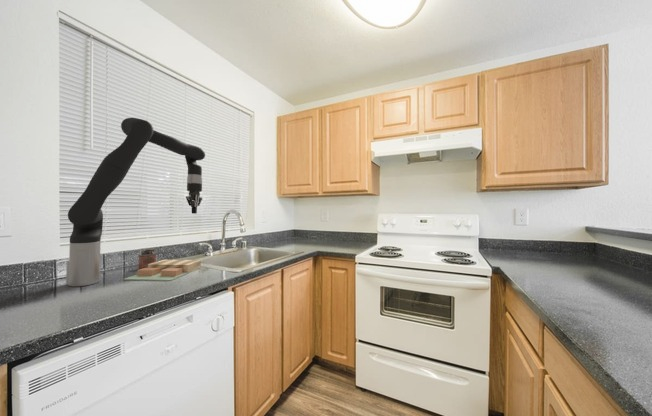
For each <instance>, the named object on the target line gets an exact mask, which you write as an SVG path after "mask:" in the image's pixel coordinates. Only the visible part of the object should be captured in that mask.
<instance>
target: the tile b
mask: <svg viewBox="0 0 652 416" xmlns="http://www.w3.org/2000/svg"><path fill="white" fill-rule="evenodd" d="M180 274H182V268H167V269H164V270H161V276H177V275H180Z"/></svg>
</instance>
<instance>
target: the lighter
mask: <svg viewBox="0 0 652 416" xmlns="http://www.w3.org/2000/svg"><path fill="white" fill-rule="evenodd" d="M154 262H157V253H156V248H151V249H150V248H146V249H143V250H141V254H138V267H137V268H138V269H143V268H148V264H151V263H154ZM138 269H137V270H138Z"/></svg>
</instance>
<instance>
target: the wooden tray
mask: <svg viewBox="0 0 652 416" xmlns="http://www.w3.org/2000/svg"><path fill="white" fill-rule="evenodd" d="M201 264H202V260H200V259H162V260H159V261H156V262H154V263H151V264H148V268H160V272H161V270H164V269H167V268H182V272H188V274H190V273H192V272H194V271H196V270H198V269H200V268H202V265H201Z"/></svg>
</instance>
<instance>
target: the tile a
mask: <svg viewBox="0 0 652 416" xmlns="http://www.w3.org/2000/svg"><path fill="white" fill-rule="evenodd" d="M136 273H137V274H136V275H137V276H153V275H156V274H159V273H160V268H143V269H140V270H138V269H137V271H136Z"/></svg>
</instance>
